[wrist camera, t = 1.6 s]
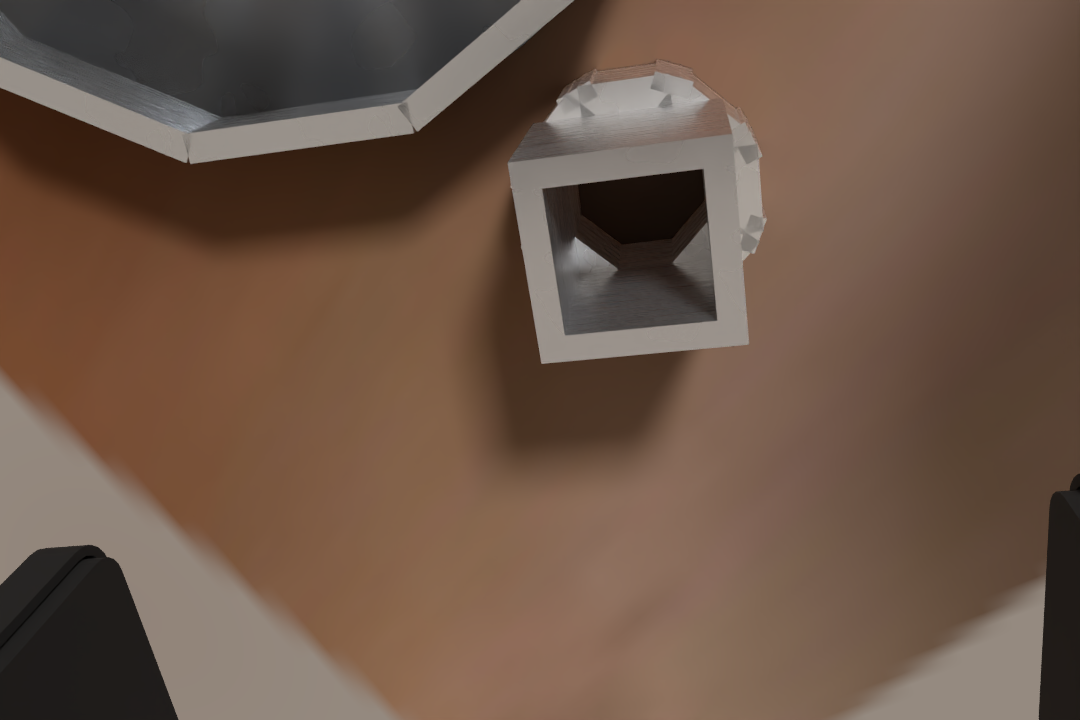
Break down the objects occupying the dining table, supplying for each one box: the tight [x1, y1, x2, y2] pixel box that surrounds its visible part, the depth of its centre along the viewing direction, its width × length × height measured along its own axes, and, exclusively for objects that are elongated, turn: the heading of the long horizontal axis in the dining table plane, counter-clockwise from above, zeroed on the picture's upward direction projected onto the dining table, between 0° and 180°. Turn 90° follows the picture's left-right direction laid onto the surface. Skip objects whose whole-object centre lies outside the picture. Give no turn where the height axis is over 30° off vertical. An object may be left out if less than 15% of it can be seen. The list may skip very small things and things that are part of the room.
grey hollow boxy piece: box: [508, 59, 767, 364], centre depth 23 cm, size 6×6×6 cm
